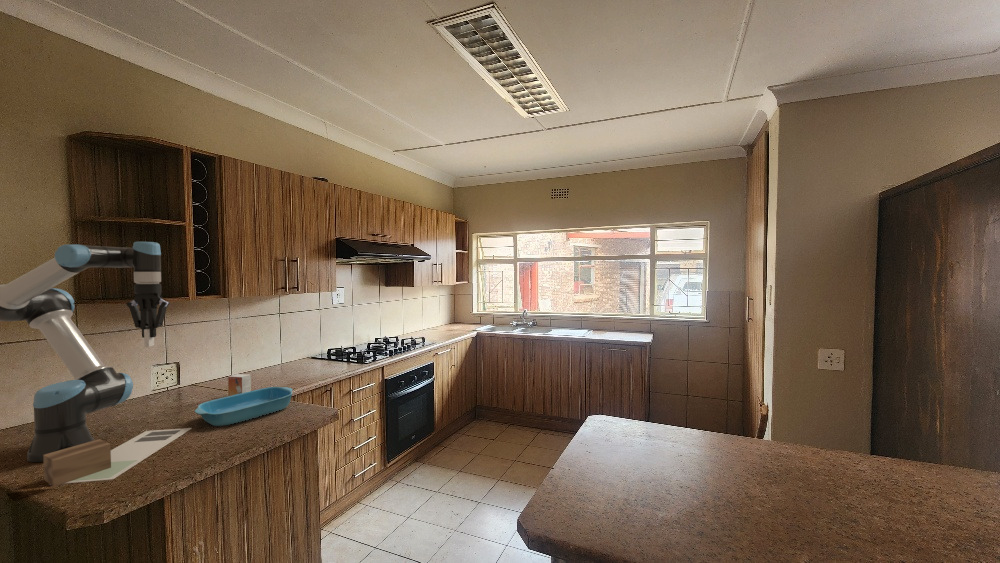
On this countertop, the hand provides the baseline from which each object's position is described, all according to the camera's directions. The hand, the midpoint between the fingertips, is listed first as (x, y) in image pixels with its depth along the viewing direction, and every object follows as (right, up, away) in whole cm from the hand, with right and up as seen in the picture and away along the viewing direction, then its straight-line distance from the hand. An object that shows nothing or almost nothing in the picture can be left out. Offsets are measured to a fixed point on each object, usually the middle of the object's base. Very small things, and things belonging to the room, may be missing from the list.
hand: (149, 346), depth 143 cm
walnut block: (+3, -34, -27) cm, 44 cm away
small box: (+1, -34, +48) cm, 59 cm away
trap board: (+6, -35, -13) cm, 37 cm away
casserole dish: (+21, -34, +24) cm, 47 cm away
